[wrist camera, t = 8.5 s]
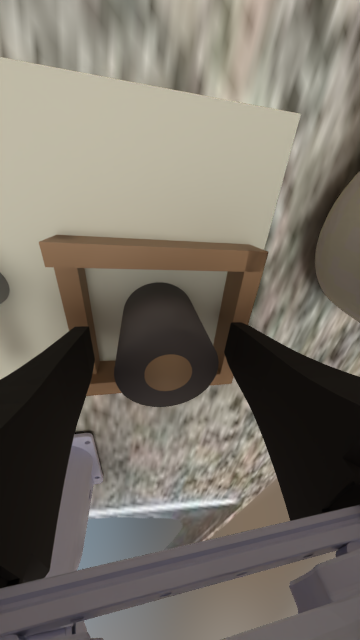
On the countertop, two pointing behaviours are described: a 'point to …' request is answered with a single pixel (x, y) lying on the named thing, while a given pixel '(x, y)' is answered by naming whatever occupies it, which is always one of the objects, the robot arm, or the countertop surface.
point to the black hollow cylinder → (163, 348)
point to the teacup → (341, 251)
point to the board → (128, 207)
